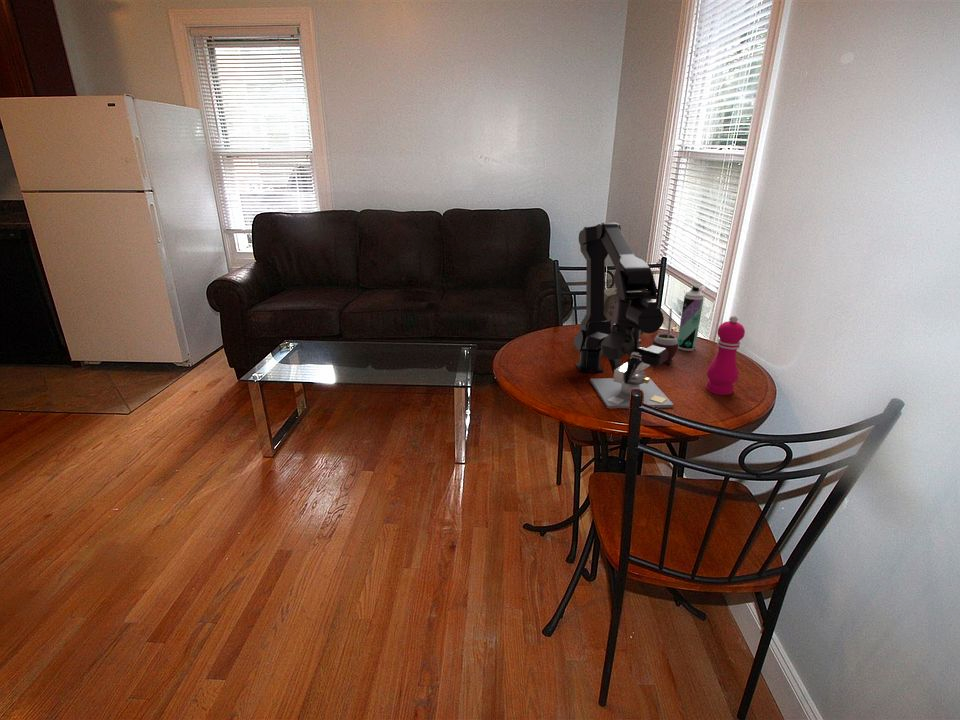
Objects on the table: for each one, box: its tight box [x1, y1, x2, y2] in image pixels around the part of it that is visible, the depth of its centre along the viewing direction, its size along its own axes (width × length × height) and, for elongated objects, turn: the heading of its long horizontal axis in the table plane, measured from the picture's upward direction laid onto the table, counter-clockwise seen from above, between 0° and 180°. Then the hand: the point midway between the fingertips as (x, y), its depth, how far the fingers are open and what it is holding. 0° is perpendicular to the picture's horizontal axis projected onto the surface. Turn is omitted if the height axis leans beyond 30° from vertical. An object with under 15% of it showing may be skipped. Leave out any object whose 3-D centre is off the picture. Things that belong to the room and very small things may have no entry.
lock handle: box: [612, 361, 651, 385], centre depth 121 cm, size 15×8×5 cm, turn 138°
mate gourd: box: [651, 308, 679, 367], centre depth 141 cm, size 8×8×15 cm
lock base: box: [590, 376, 674, 410], centre depth 123 cm, size 16×16×4 cm
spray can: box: [677, 285, 705, 352], centre depth 151 cm, size 6×6×20 cm
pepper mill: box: [706, 315, 746, 396], centre depth 122 cm, size 7×7×20 cm
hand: (621, 380), depth 118 cm, fingers closed on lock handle, 2 cm apart
